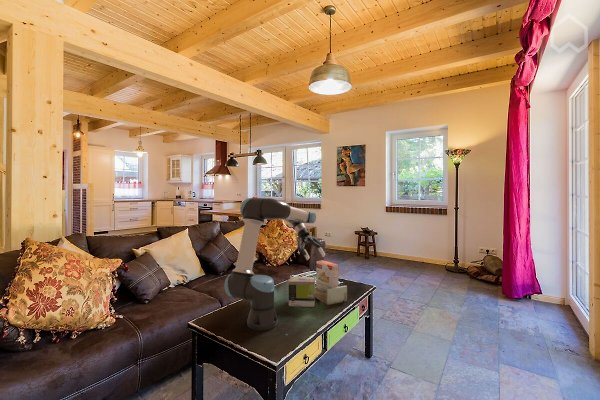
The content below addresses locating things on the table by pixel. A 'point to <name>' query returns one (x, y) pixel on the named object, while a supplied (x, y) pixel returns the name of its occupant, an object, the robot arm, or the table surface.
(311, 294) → the tea box
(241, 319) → the table surface
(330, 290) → the book trough
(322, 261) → the cracker box
